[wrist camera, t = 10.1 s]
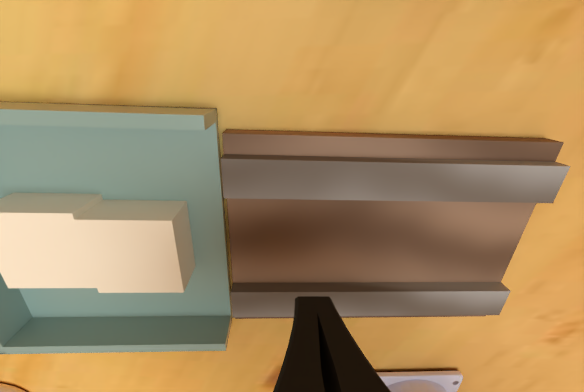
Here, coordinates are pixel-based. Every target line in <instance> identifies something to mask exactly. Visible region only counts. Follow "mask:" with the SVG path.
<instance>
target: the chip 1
mask: <svg viewBox="0 0 584 392" xmlns="http://www.w3.org/2000/svg"><path fill="white" fill-rule="evenodd" d="M102 200H103V198H102V195H101V194H67V193H12V194H10V195H7V196H5V197H3V198H1V199H0V273H1V275H2V277H3V279H4V281H5V283H6V285H7V287H8V288H97V286H96V283H95V280H94V277H93V274H92V271H91V268H90V265H89V262H88V259H87V256H86V254H85V251H84V248H83V245H82V242H81V239H80V236H79V233H78V230H77V227H76V224H75V221H74V219H76V218H77V217H79V216H80V215H82V214H83V213H84V212H86V211H87V210H89V209H90V208H92V207H93V206H94V205H96V204H97V203H99V202H100V201H102Z"/></svg>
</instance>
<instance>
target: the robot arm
mask: <svg viewBox="0 0 584 392" xmlns="http://www.w3.org/2000/svg"><path fill="white" fill-rule="evenodd" d="M462 380H463V376H462V374H461V372H459V371H418V372H376V371H375V370H374V369H373V367H372V366H371V364H370V363H369V361H368V360H367V359H366V357H365V356H364V354H363V353H362V351H361V350H360V348H359V347H358V345H357V344H356V342H355V340H354V339H353V337H352V336H351V334H350V332H349V331H348V329H347V328H346V326H345V324H344V322H343V321H342V319H341V317H340V315H339V313H338V312H337V310H336V308H335V306H334V304H333V302H332V299H331V298H330V297H329V296H298V297H297V298H295V308H294V321H293V327H292V332H291V336H290V340H289V344H288V348H287V351H286V355H285V358H284V361H283V365H282V368H281V371H280V374H279V377H278V380H277V383H276V385H275V388H274V391H273V392H457V390H458V388H459V386H460V384H461V382H462Z"/></svg>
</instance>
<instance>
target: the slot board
mask: <svg viewBox="0 0 584 392" xmlns="http://www.w3.org/2000/svg"><path fill="white" fill-rule="evenodd" d="M222 134H223V149H224V155H223V156H222V157H221V171H222V184H223V197H224V198H227V206H228V220H229V235H230V249H231V263H232V278H233V284H232V289H231V303H232V317H235V319H243V318H294V308H295V298H297V297H298V296H329V297H330V298H331V299H332V302H333V304H334V306H335V308H336V310H337V312H338V313H339V315H340V317H341V318H347V317H450V316H486V315H499V314H500V312H501V310H502V308H503V306H504V304H505V302H506V299H507V297H508V295H509V293H510V290H509V289H508V288H507V287H505V286H504V285H503V284H502V283H501V280H502V278H503V276H504V274H505V271H506V269H507V267H508V265H509V262H510V260H511V258H512V256H513V254H514V251H515V249H516V247H517V245H518V243H519V240H520V238H521V236H522V234H523V231H524V229H525V227H526V225H527V223H528V220H529V218H530V216H531V214H532V212H533V209H534V207H535V205H536V203H553V201H554V199H555V197H556V195H557V193H558V191H559V189H560V187H561V185H562V183H563V180H564V178H565V176H566V174H567V172H568V170H569V168H570V166H567V165H564V164H561V163H558V162H555V161H556V158H557V156H558V154H559V152H560V149H561V147H562V145H563V142H559V141H555V140H551V139H546V138H515V137H479V136H443V135H407V134H372V133H336V132H300V131H264V130H228V129H226V130H225V131H224V132H223V133H222Z"/></svg>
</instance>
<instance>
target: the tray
mask: <svg viewBox="0 0 584 392" xmlns="http://www.w3.org/2000/svg"><path fill="white" fill-rule="evenodd" d="M12 193H67V194H101V195H102V198H103V200H163V201H187V207H188V214H189V222H190V229H191V236H192V244H193V251H194V258H195V268H194V271H193V273H192V275H191V277H190V280H189V282H188V284H187V286H186V289H185V291H184V293H99V292H98V289H97V288H8V287H7V285H6V283H5V281H4V279H3V277H2V275H1V273H0V354H40V353H103V352H165V351H226V348H227V343H228V338H229V332H230V327H231V322H232V304H231V291H230V278H229V265H228V252H227V238H226V225H225V212H224V199H223V186H222V172H221V159H220V146H219V133H218V120H217V108H186V107H155V106H124V105H92V104H61V103H30V102H0V199H1V198H3V197H5V196H7V195H10V194H12Z"/></svg>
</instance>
